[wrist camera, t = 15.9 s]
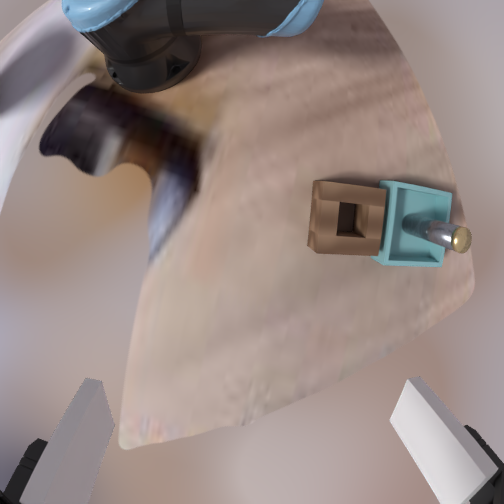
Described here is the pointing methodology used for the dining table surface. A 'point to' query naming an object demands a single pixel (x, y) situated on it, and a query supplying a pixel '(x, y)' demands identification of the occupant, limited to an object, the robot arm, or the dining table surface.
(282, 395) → the dining table surface
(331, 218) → the block
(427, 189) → the pin tray
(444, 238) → the steel pin
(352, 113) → the dining table surface
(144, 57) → the robot arm
